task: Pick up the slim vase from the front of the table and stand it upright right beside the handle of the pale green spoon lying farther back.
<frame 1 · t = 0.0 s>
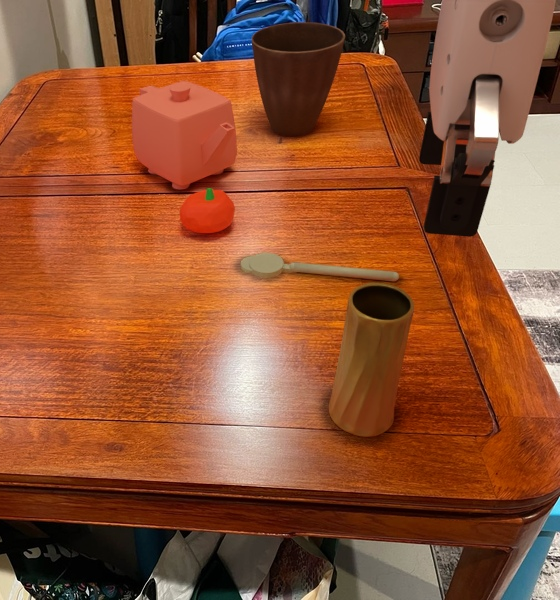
hand: (444, 195, 44), 25 cm above the table, tool pointing down, fingers open, 9 cm apart
flower pot: (292, 129, 111), on the table
teapot: (187, 172, 102), on the table
vase: (360, 414, 61), on the table
spoon: (342, 275, 78), on the table
pumpkin: (207, 229, 89), on the table
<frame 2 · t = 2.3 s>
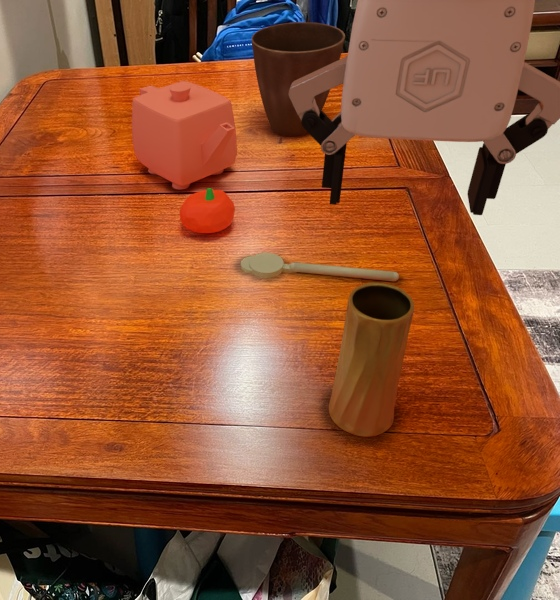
hand: (402, 200, 46), 24 cm above the table, tool pointing down, fingers open, 9 cm apart
nothing on the table moved.
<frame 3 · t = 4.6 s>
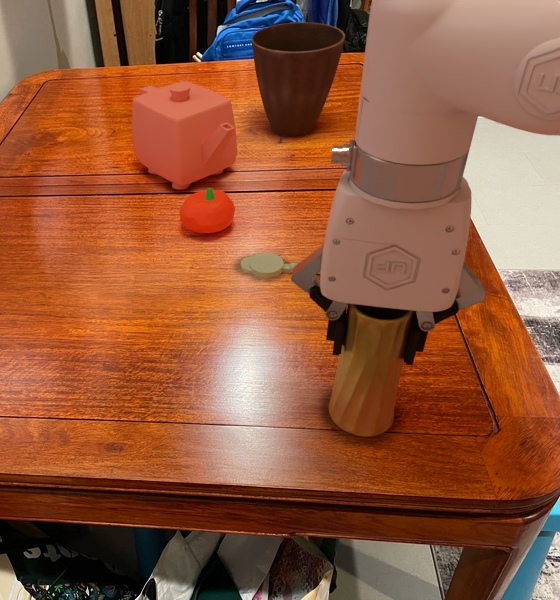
hand: (372, 347, 55), 9 cm above the table, tool pointing down, fingers closed on vase, 5 cm apart
vase: (360, 414, 61), on the table, touching gripper
everything else where it was.
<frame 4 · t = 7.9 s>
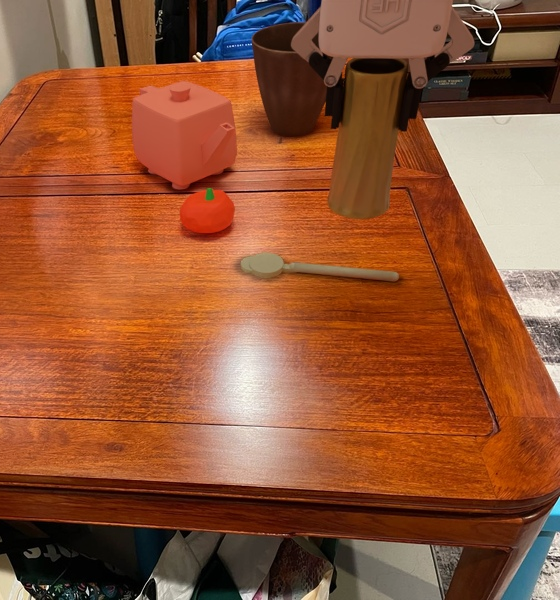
hand: (368, 122, 58), 23 cm above the table, tool pointing down, fingers closed on vase, 5 cm apart
vase: (357, 206, 64), point 14 cm above the table, touching gripper
everything else where it was.
when the fingers open (9 cm above the table, at t = 11.6 s): vase stays where it is, on the table.
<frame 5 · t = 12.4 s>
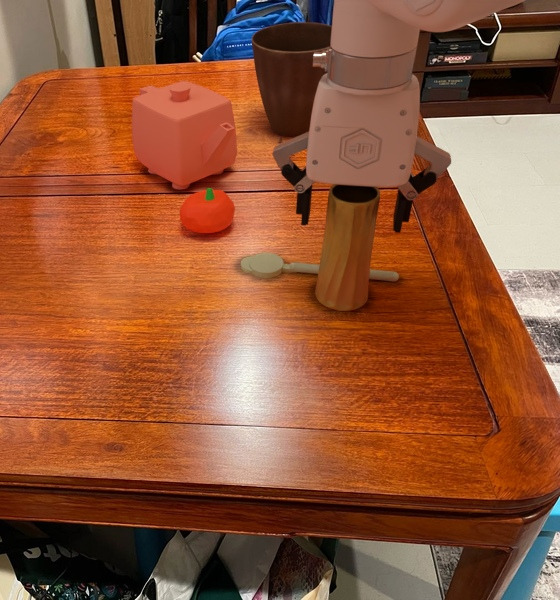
hand: (350, 222, 68), 10 cm above the table, tool pointing down, fingers open, 9 cm apart
vase: (341, 296, 75), on the table
everything else where it was.
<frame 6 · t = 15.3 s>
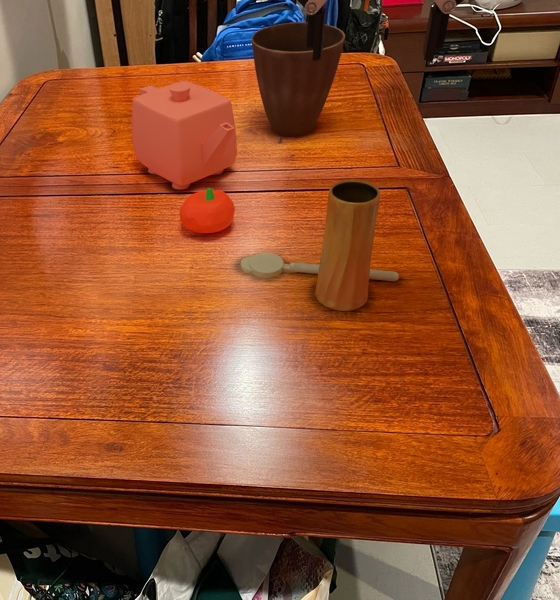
hand: (371, 56, 57), 28 cm above the table, tool pointing down, fingers open, 9 cm apart
nothing on the table moved.
at the end: vase inside the target area on the table beside the spoon (0.4 cm from its centre), on the table; vase tilted 0°; the gripper is holding nothing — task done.
